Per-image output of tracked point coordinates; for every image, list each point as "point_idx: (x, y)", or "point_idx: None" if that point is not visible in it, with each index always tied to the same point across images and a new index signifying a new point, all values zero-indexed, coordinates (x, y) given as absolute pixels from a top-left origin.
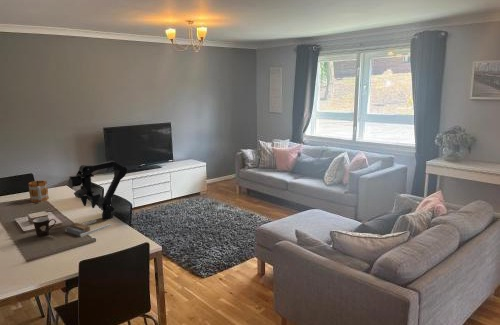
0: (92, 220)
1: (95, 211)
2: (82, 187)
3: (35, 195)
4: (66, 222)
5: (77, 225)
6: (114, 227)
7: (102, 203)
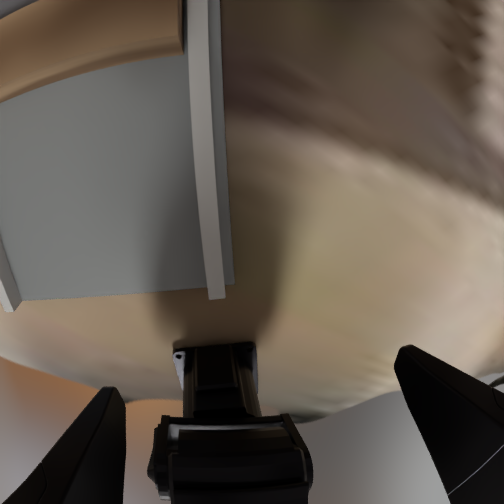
0: (222, 267)
1: None
2: None
3: None
4: (457, 141)
5: (58, 9)
6: None
7: (180, 501)
